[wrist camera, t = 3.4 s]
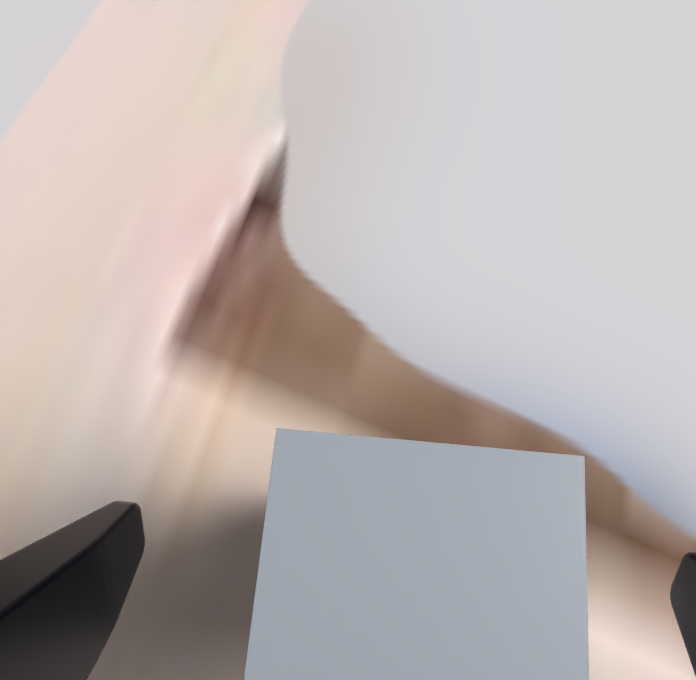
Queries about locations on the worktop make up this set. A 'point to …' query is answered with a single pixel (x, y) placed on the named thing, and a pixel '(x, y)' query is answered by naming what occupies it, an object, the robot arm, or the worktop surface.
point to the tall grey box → (419, 563)
